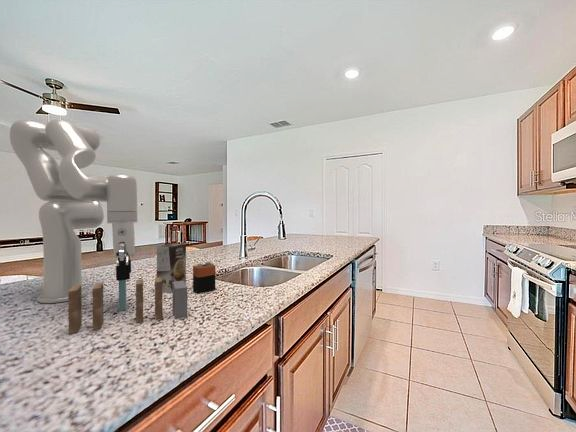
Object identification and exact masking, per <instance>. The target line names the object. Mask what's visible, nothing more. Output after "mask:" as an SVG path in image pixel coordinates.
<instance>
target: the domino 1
mask: <svg viewBox="0 0 576 432" xmlns="http://www.w3.org/2000/svg"><path fill="white" fill-rule="evenodd" d="M82 301H83V300H82V297H81V285H79V286H73V287H72V288H71V289H70V290H69V291H68V301H67V302H68V335H76V334H78V333H79V331H80V329H81V327H82V323H83V322H82V321H83V320H82V319H83V318H82V317H83V316H82V314H83V313H82V310H83V309H82V306H83V305H82Z"/></svg>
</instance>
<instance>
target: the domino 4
mask: <svg viewBox="0 0 576 432" xmlns="http://www.w3.org/2000/svg"><path fill="white" fill-rule="evenodd" d="M135 282H136V283H135V324H140V323H144V279H143V278H139V279H136V280H135Z"/></svg>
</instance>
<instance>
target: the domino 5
mask: <svg viewBox="0 0 576 432" xmlns="http://www.w3.org/2000/svg"><path fill="white" fill-rule="evenodd" d="M163 308H164V307H163V291H162V278H161V277H159V278H157V277H155V278H154V317H155V321H158V320H163V319H164V317H163V316H164V315H163V311H164V310H163Z"/></svg>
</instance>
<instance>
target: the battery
mask: <svg viewBox="0 0 576 432" xmlns="http://www.w3.org/2000/svg"><path fill="white" fill-rule="evenodd" d="M215 290H216V265H215V264H212V261H206V262H204V264H202V263H197V265H193V266H192V291H193V292H194V293H197V294H204V293H208V292H212V291H215Z"/></svg>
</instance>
